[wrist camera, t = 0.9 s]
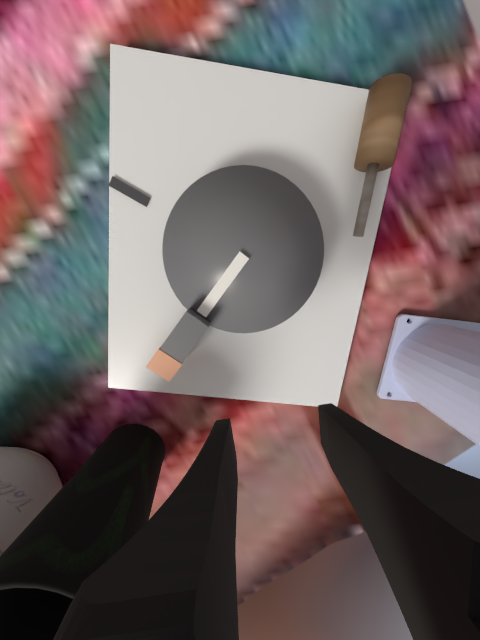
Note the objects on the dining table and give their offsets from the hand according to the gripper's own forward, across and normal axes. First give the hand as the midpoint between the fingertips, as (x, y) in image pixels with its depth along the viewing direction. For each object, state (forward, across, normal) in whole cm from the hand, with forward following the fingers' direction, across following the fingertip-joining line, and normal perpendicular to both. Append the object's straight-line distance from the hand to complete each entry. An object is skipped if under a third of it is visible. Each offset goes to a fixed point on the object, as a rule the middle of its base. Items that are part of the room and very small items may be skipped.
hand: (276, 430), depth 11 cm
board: (+10, 0, -8) cm, 13 cm away
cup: (+11, +13, +8) cm, 18 cm away
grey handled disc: (+9, +2, -7) cm, 11 cm away
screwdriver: (+9, -10, -13) cm, 19 cm away
